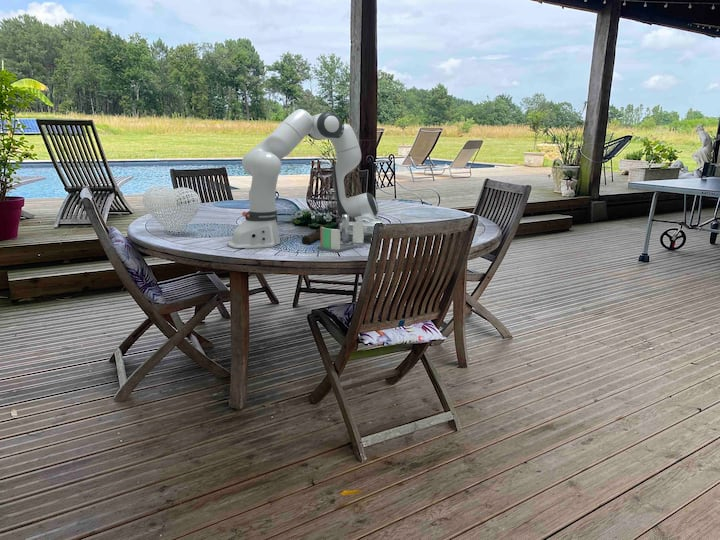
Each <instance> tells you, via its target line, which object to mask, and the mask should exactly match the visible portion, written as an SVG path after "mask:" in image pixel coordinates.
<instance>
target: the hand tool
mask: <svg viewBox="0 0 720 540" xmlns="http://www.w3.org/2000/svg"><path fill="white" fill-rule="evenodd" d="M317 240H321V238H320V228H317V229H315V231H314V232H313V233H310V234H307V235H305V236H302V238H301V243H302V245H305V244H309V245H311V244H312V243H313V242H316V241H317Z"/></svg>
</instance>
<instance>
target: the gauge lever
mask: <svg viewBox="0 0 720 540" xmlns="http://www.w3.org/2000/svg"><path fill="white" fill-rule="evenodd" d="M349 222H350V220H349V215H348V214H343V215H342V218H339V219H337V220H336V223H338V224H340V223H342V232H341V241H342V242H350V236H352V242H353V244H354V243H356V244H364V241H365V240H364V239H365V236H364V224H362V223H353V231H349Z"/></svg>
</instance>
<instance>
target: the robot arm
mask: <svg viewBox="0 0 720 540" xmlns="http://www.w3.org/2000/svg"><path fill="white" fill-rule="evenodd" d="M306 136H308V138H309V137H310V138H311V139H313V140H317V141H322V140H329V141H331V143H332V145H333V148H334V152H335V155H336V162H335V164H334V166H333V167H332V172H333V173H332V174H333V184H334V190H335V200H336V213H337V215H338V217H339V219H341V218H342V215H343V214H348V215H349V231H353V223H362V224H364V237H365V236H370V235H373V234H372V233H373V229H374V225H375V224H376V223H383V224H385V225H386V222H385V219H384V218H379V215H378V214H379V205H378V201H377V199H376V198H375V196H374V195H373V194H371V193H369V192H365V193H361V194H358V195H353V196H351V197H347V196H346V188H345V182H344V180H345V177H346V175H348V174H349V173H350V172H352V171H353V170H354V169H355V168H356V167H357V166H358V165H359V164H360V162H361V161H362V151H361V148H360V147H361V146H360V142H359V141H358V137H357V135H356V133H355V131H354V129H353V126H351V125H350V124H348V123H344V121H342V120H341V118H340V117H339V116H338V115H337V114H336V113H333V112H331V111H325V112H320V113H318V114H315V115H311V114H310V113H309V112H308V111H307V110H305V109H301V108H299V109H296V110H294V111H293V112H292V113H290V114H289V115H288V116H287V117H286V118H285V119H284V120H282V122H281V123H280V124H279V125H278V126H276V128H275V129H274V130H273V131H272V132H271V133H270V134H269V135H268V136H267V137H266V138H265V139H263V140H261V142H259V143H258V144H257V145H256V146H254V147H253V148H252V149H251V150H249V151H248V152H247V153H246V154H245V155H244V156H243V158H242V160H241V165H242V169H243V170H244V171H245V172H246V174H248V175H249V176H251V177H252V178H251V185H250V189H249V191H248V204H249V207H248V208H249V210H248V211H247V212H246V211H244V210H243V211H242V217H244V218H245V220H244V221H243V222H242V223H240V224H238V226H236V228H235V229H234V230H233V233H232V238H231V239H232V240H227V243H228V245H229V246H231V247H234V248H233V249H235V248H245V249H259V248H260V249H261V248H262V249H263V248H273V247H275V246H277V245H280V244H281V243H282V241H281V239H280V235H279V229H278V210H277V208H276V207H277V203H276V193H277V184H278V178H279V175H280V173H281V171H282V162H281V160H282V159H284V158H285V157H287V156H289V155H290V154H291V153H292V152H293V151H294V150H295V148H296V147H297V146H298V145H299V144H300V143H301V142H302V141H303V139H304V138H305V137H306ZM358 217H359V218H358ZM354 218H357V220H356V221H350V220H352V219H354ZM339 230H340V233H342V222H340V223H339ZM228 245H227V246H228ZM229 246H228V247H229ZM231 247H230V248H231Z"/></svg>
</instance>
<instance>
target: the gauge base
mask: <svg viewBox="0 0 720 540" xmlns="http://www.w3.org/2000/svg"><path fill="white" fill-rule="evenodd" d="M319 229H320V238H321V239H320V245H317V246H316V249H317V250H322V251H326V252H330V251H331V252H330V253H337V254H338V253H341V252H346V251H349V250H354V249H357V248H358V245H357V244H354V243H353V241H349V242H342V240H341V231H340V229H338V228H336V229H335V228H329V227H328V228H327V227H324V226H320V228H319ZM353 248H354V249H353Z"/></svg>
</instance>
